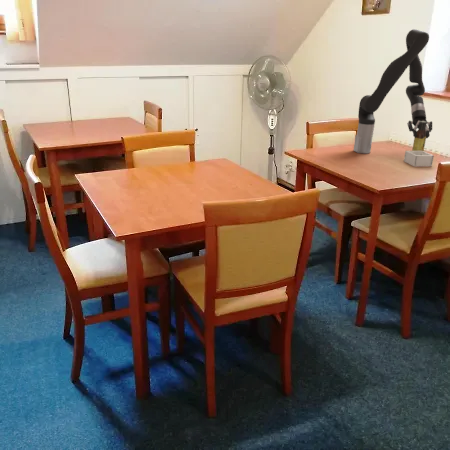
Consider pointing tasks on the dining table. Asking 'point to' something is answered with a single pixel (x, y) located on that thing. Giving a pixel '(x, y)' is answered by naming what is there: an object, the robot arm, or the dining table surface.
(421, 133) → the sauce bottle
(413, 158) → the bottle holder
